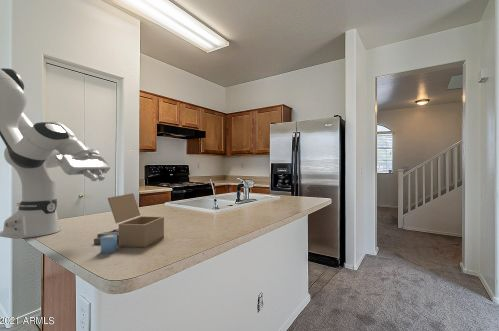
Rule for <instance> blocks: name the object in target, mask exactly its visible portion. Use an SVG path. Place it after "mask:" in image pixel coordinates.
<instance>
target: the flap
mask: <svg viewBox="0 0 499 331" xmlns="http://www.w3.org/2000/svg"><path fill="white" fill-rule="evenodd" d="M107 201H108V204H109V208H110V210H111V213H112V216H113V219H114V222H115V224H120V223H123V222H126V221H129V220H132V219H135V218H138V217H141V213H140V209H139V207H138V203H137V200H136V198H135V194H134V193H128V194H123V195H115V196H110V197H107Z"/></svg>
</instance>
